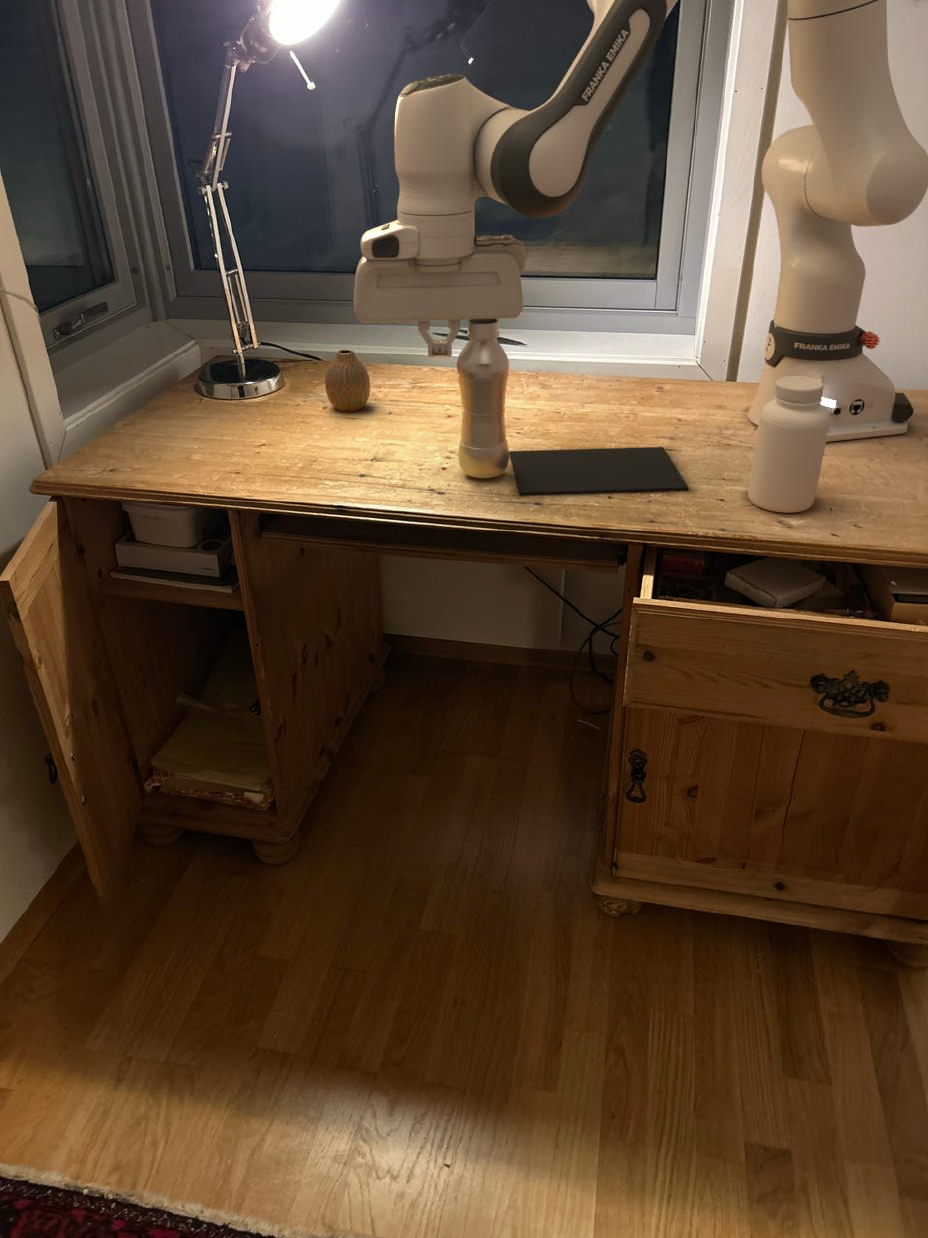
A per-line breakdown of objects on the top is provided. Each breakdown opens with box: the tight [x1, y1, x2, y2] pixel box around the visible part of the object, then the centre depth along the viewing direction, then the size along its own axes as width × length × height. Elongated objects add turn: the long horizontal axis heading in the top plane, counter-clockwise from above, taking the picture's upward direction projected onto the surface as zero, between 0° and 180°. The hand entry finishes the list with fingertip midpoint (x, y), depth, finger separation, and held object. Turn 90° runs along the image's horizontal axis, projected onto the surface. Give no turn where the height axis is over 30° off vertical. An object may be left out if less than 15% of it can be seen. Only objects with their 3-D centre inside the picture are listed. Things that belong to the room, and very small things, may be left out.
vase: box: [324, 348, 371, 412], centre depth 147 cm, size 7×7×9 cm
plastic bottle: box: [456, 319, 510, 479], centre depth 121 cm, size 6×7×20 cm
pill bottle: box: [747, 376, 830, 514], centre depth 114 cm, size 8×8×15 cm
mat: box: [509, 446, 689, 496], centre depth 127 cm, size 22×14×1 cm, turn 93°
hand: (439, 355), depth 118 cm, fingers closed
